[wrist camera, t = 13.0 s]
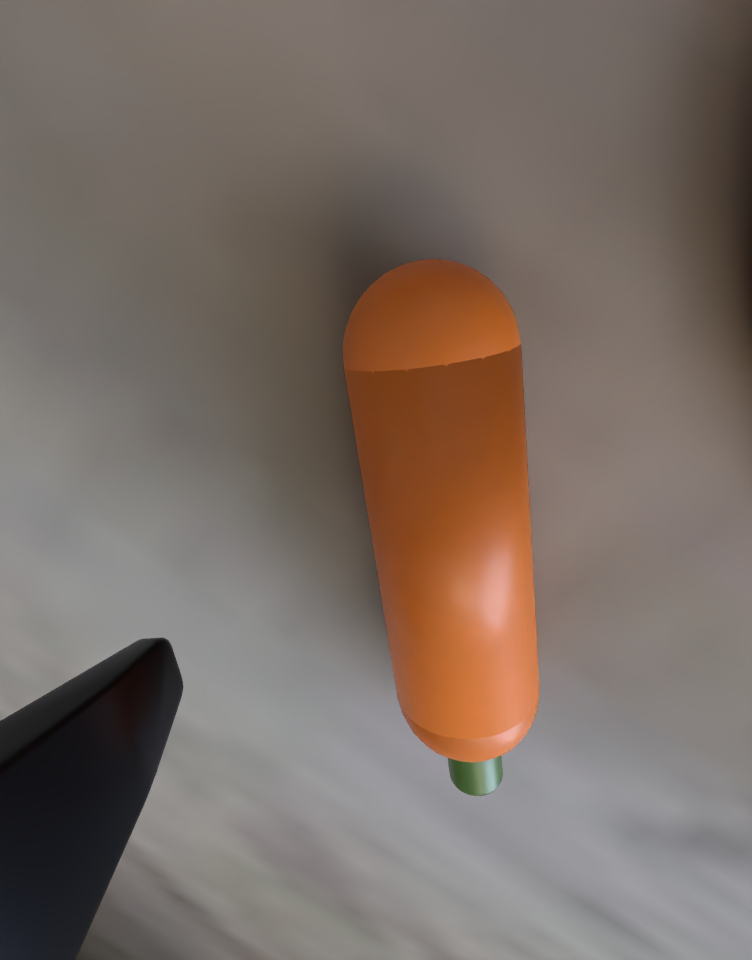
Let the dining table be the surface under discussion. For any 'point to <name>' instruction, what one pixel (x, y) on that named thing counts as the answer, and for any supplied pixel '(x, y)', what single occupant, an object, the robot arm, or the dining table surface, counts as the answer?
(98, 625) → the dining table surface
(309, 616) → the dining table surface
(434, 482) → the carrot
